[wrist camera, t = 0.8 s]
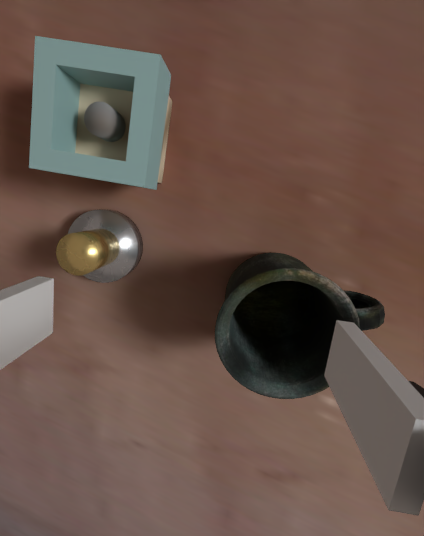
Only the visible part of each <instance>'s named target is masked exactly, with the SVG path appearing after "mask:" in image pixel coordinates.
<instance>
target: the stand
mask: <svg viewBox="0 0 424 536" xmlns="http://www.w3.org/2000/svg"><path fill="white" fill-rule="evenodd" d="M132 99H133V92H132V91H125V90H119V89H113V88H106V87H100V86H93V85H87V84H81V83H80V95H79V108H78V122H77V135H76V148H75V153H78V154H84V155H90V156H96V157H102V158H108V159H114V160H120V161H126V155H127V146H128V137H129V127H130V118H131V109H132ZM171 108H172V100H171V99H170V97H169V96H168V104H167V112H166V120H165V128H164V135H163V143H162V151H161V159H160V167H159V175H158V183H162V178H163V170H164V162H165V155H166V147H167V139H168V131H169V124H170V116H171Z"/></svg>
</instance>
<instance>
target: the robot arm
mask: <svg viewBox="0 0 424 536" xmlns="http://www.w3.org/2000/svg"><path fill="white" fill-rule="evenodd" d="M53 294H54V278H47V277H40V276H37V277H35V278H32V279H29V280H27V281H24V282H21V283H19V284H16V285H13V286H11V287H8V288H5V289H3V290H0V370H1V369H2V368H4V367H5V366H6V365H8V364H9V363H11V362H12V361H14V360H15V359H16V358H18V357H19V356H21V355H22V354H23V353H25V352H26V351H28V350H29V349H31V348H32V347H33V346H35V345H36V344H38V343H39V342H40V341H42V340H43V339H45V338H46V337H48V336H49V335H50V334H52V333H53ZM324 376H325V378H326V380H327V382H328V385H329V387H330V389H331V391H332V393H333V395H334V397H335V399H336V401H337V403H338V405H339V408H340V410H341V412H342V414H343V416H344V418H345V420H346V422H347V424H348V426H349V428H350V431H351V433H352V435H353V437H354V439H355V441H356V443H357V445H358V447H359V449H360V451H361V454H362V456H363V458H364V460H365V462H366V464H367V466H368V468H369V470H370V472H371V474H372V477H373V479H374V481H375V483H376V485H377V487H378V489H379V491H380V493H381V495H382V497H383V500H384V502H385V504H386V506H387V508H388V510H390V511H396V512H402V513H407V514H413V515H418V516H419V513H420V510H421V506H422V503H423V500H424V388H422V387H421V386H419V385H418V384H416V383H414V382H411V381H408V380H407V379H406V378H405V377H404V376H403V375H402V374H401V373H400V372H399V371H398V370H397V368H396V367H395V366H394V365H393V364H392V363H391V362H390V361H389V360H388V359H387V358H386V357H385V356H384V354H383V353H382V352H381V351H380V350H379V349H378V348H377V347H376V346H375V345H374V344H373V343H372V342H371V340H370V339H369V338H368V337H367V336H366V335H365V334H364V333H363V332H362V331H361V330H360V329H359V328H358V326H357V325H356V324H355V323H353V322H346V321H339V320H336V325H335V329H334V334H333V338H332V343H331V347H330V352H329V356H328V361H327V365H326V370H325V374H324Z"/></svg>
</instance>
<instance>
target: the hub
mask: <svg viewBox="0 0 424 536" xmlns="http://www.w3.org/2000/svg"><path fill="white" fill-rule="evenodd" d="M142 251H143V242H142V237H141V234H140V232H139V230H138V228H137V226H136V225H135V223H134V222H133V221H132V220H131V219H130V218H129V217H127V216H126V215H124V214H122V213H120V212H118V211H114V210H93V211H89V212H86V213H84V214H82V215H81V216H79V217H78V218H77V219H76V220H75V221H74V222H73V223H72V225H71V227H70V229H69V231H68V234H67V235H65V236H64V237H62V238H61V240H60V241H59V243H58V245H57V248H56V256H57V260H58V262H59V264H60V266H61V267H62V268H63V269H64V270H65V271H66V272H68V273H70V274H72V275H78V276H80V275H83V276H85V277H86V278H88V279H90V280H93V281H96V282H103V283H104V282H113V281H116V280H118V279H121V278H122V277H124V276H125V275H127V274H129V273H130V272H131V271H133V270H134V268H135V267H136V266H137V265H138V263H139V261H140V259H141V256H142Z"/></svg>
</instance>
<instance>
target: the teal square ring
mask: <svg viewBox="0 0 424 536" xmlns="http://www.w3.org/2000/svg"><path fill="white" fill-rule="evenodd" d="M170 81H171V74H170V72H169V70H168V68H167V66H166V64H165V62H164V61H163V59H162V57H161V55H159V54H153V53H146V52H139V51H133V50H126V49H119V48H113V47H106V46H99V45H93V44H86V43H79V42H73V41H66V40H59V39H53V38H46V37H39V36H35V53H34V74H33V95H32V115H31V136H30V157H29V168H33V169H38V170H44V171H49V172H55V173H61V174H67V175H72V176H78V177H84V178H90V179H96V180H102V181H108V182H114V183H120V184H125V185H131V186H137V187H143V188H149V189H155V190H157V183H158V175H159V167H160V159H161V151H162V143H163V135H164V128H165V120H166V112H167V104H168V96H169V88H170ZM80 83H81V84H87V85H93V86H100V87H106V88H113V89H119V90H125V91H132V92H133V99H132V109H131V118H130V127H129V137H128V146H127V155H126V161H120V160H114V159H108V158H102V157H96V156H90V155H84V154H78V153H75V148H76V135H77V122H78V108H79V95H80Z"/></svg>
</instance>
